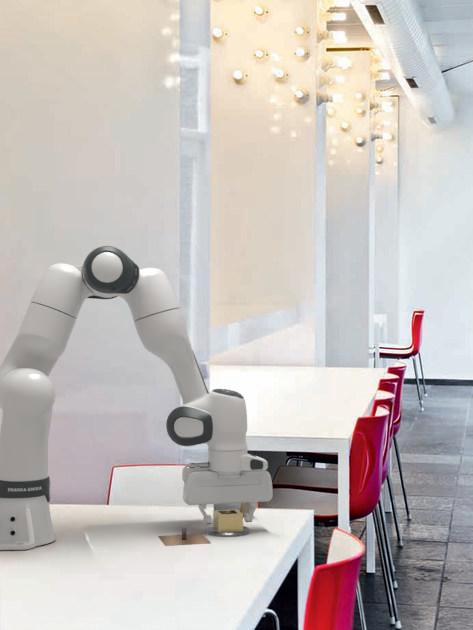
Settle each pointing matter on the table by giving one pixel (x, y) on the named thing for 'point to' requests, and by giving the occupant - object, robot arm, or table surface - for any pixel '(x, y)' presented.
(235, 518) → the collar
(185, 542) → the stand
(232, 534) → the stand
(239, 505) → the grey cylinder tan end
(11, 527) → the robot arm
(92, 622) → the table surface
